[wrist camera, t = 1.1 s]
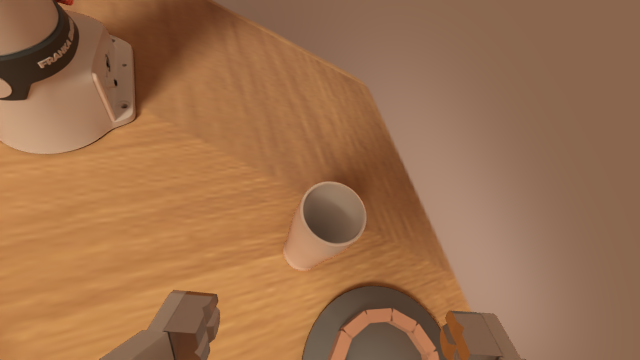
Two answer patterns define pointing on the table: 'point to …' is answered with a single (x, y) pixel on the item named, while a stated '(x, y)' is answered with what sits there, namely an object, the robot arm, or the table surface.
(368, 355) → the round tray
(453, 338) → the robot arm
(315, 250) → the drinking glass
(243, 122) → the table surface
